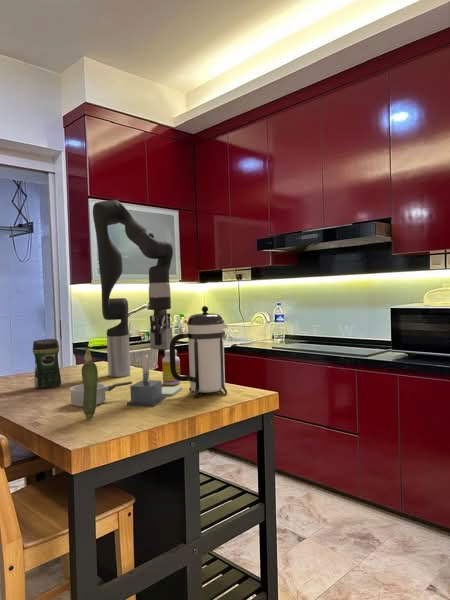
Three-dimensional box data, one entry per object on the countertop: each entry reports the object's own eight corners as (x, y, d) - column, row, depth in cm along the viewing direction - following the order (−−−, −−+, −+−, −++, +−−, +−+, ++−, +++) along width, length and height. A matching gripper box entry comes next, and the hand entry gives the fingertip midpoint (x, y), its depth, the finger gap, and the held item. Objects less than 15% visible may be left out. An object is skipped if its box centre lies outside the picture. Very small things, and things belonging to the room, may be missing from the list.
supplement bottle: (173, 386, 163) (172, 351, 163) (159, 384, 167) (158, 351, 166) (183, 382, 169) (182, 349, 169) (170, 381, 172) (168, 348, 172)
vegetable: (85, 416, 127) (82, 347, 126) (100, 415, 127) (98, 347, 127) (81, 421, 122) (78, 349, 122) (97, 420, 123) (94, 349, 122)
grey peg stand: (140, 397, 148) (139, 353, 147) (166, 397, 146) (164, 352, 145) (126, 406, 137) (124, 358, 136) (153, 406, 135) (151, 358, 135)
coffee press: (201, 386, 161) (198, 305, 161) (238, 390, 152) (235, 304, 151) (169, 396, 147) (166, 307, 146) (207, 402, 138) (204, 307, 137)
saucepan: (136, 401, 142) (135, 384, 142) (71, 410, 134) (70, 392, 134) (128, 394, 153) (127, 378, 153) (68, 402, 144) (67, 385, 144)
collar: (156, 347, 157) (156, 327, 157) (172, 347, 156) (172, 327, 155) (150, 349, 151) (149, 329, 151) (166, 349, 150) (166, 328, 150)
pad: (155, 388, 160) (155, 386, 160) (181, 389, 158) (181, 387, 158) (145, 395, 150) (145, 393, 150) (172, 396, 148) (172, 393, 148)
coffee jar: (59, 383, 176) (57, 337, 176) (62, 386, 169) (60, 338, 169) (33, 386, 171) (30, 339, 171) (35, 390, 164) (33, 341, 164)
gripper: (157, 296, 161) (158, 341, 161) (141, 296, 147) (143, 346, 147) (176, 295, 159) (178, 341, 159) (162, 296, 145) (164, 346, 145)
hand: (161, 343), depth 153 cm, fingers closed on collar, 6 cm apart
